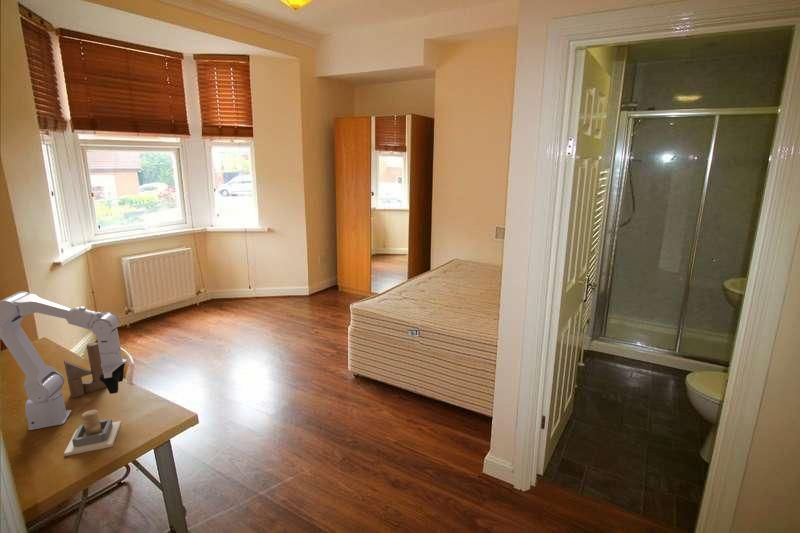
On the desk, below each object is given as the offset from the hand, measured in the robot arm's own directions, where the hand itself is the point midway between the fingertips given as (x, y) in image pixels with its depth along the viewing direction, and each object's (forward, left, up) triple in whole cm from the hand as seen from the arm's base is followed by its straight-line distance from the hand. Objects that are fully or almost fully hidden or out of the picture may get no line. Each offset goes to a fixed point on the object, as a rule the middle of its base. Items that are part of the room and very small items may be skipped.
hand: (116, 387), depth 140 cm
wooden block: (-14, +21, -11) cm, 27 cm away
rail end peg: (-5, -12, -9) cm, 16 cm away
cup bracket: (-5, -12, -10) cm, 17 cm away
